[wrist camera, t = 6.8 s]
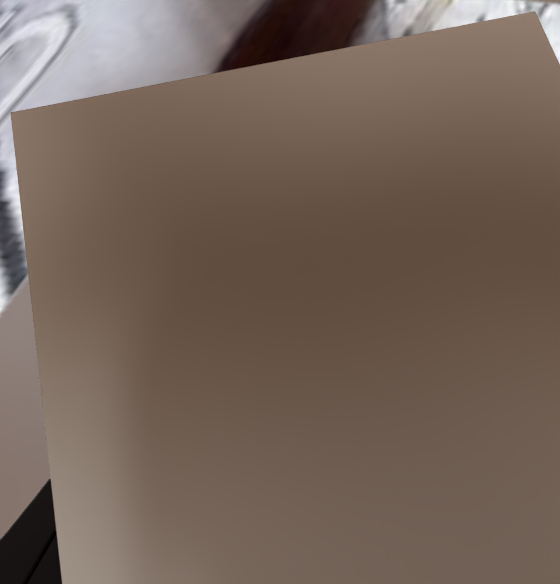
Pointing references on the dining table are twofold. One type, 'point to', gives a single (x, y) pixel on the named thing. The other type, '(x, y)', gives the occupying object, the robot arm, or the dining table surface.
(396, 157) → the block
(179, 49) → the dining table surface
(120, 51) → the dining table surface
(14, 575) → the robot arm
